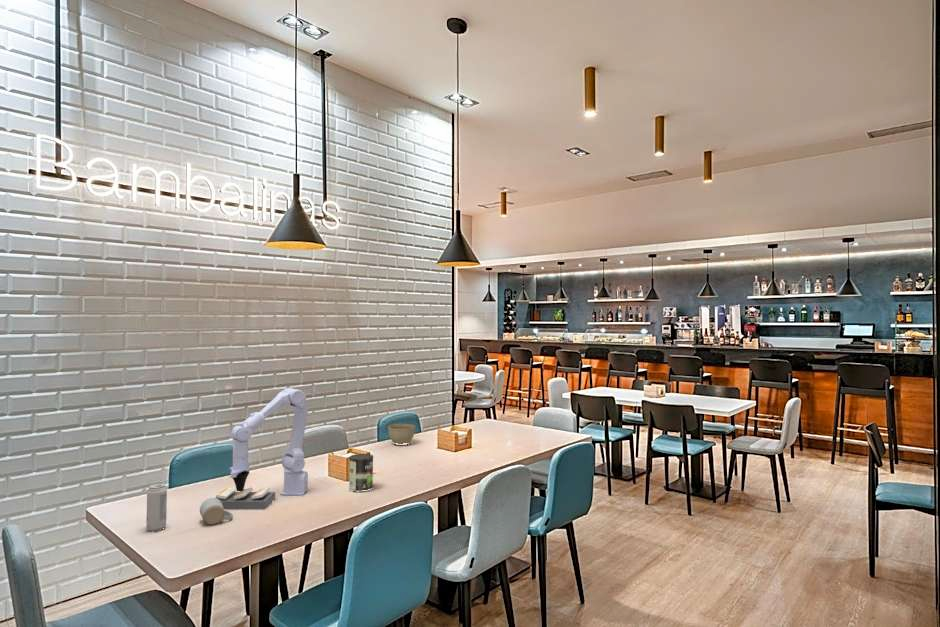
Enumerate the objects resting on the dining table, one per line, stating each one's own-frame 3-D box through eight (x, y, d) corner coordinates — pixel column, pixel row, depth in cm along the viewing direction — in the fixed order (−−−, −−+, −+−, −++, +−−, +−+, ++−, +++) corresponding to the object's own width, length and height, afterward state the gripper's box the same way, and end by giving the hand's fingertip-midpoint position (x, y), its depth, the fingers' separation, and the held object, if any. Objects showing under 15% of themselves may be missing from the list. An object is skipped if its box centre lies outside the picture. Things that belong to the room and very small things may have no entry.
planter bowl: (383, 446, 320) (383, 427, 320) (395, 440, 335) (395, 422, 335) (408, 448, 315) (408, 429, 315) (419, 442, 330) (419, 424, 330)
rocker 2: (270, 490, 221) (269, 487, 221) (262, 497, 212) (261, 494, 212) (260, 492, 221) (259, 489, 221) (252, 499, 212) (251, 496, 212)
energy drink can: (151, 525, 193) (152, 483, 193) (169, 525, 193) (170, 483, 193) (142, 532, 187) (143, 488, 187) (161, 532, 187) (161, 488, 187)
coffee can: (377, 486, 241) (377, 454, 241) (365, 493, 231) (365, 460, 231) (356, 484, 244) (357, 452, 244) (344, 491, 234) (344, 458, 235)
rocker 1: (235, 492, 221) (235, 489, 221) (225, 499, 212) (226, 496, 212) (225, 490, 221) (226, 487, 221) (215, 497, 212) (216, 494, 212)
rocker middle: (252, 490, 221) (252, 487, 221) (244, 497, 212) (243, 494, 212) (243, 493, 221) (242, 489, 221) (234, 500, 212) (233, 496, 212)
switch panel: (275, 499, 223) (275, 491, 223) (264, 509, 211) (264, 501, 211) (223, 499, 222) (223, 491, 222) (209, 509, 210) (209, 501, 210)
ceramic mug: (202, 527, 192) (203, 505, 192) (199, 520, 198) (200, 499, 199) (234, 522, 197) (235, 500, 198) (230, 515, 204) (231, 494, 204)
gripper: (237, 452, 224) (237, 485, 224) (222, 461, 209) (222, 496, 209) (255, 451, 224) (254, 485, 224) (241, 461, 210) (240, 496, 209)
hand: (240, 490), depth 217 cm, fingers closed
